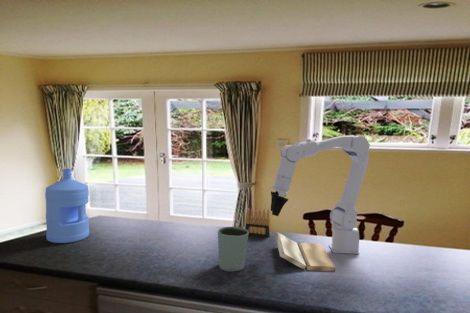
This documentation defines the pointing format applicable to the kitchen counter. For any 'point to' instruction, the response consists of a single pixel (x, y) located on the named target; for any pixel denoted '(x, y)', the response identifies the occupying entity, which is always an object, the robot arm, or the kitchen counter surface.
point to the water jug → (66, 210)
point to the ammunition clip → (258, 223)
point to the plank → (289, 250)
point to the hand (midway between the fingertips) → (274, 213)
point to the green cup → (232, 248)
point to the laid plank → (315, 257)
